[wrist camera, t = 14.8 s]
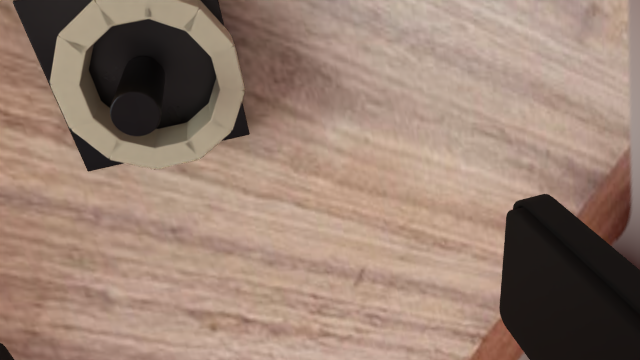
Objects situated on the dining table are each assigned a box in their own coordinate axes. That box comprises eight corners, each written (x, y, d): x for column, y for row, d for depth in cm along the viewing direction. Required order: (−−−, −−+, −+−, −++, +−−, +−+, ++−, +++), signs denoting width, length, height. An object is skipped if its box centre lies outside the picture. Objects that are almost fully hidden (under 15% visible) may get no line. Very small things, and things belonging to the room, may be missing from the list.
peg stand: (208, -38, 24) (216, -20, 19) (247, 126, 29) (262, 180, 23) (19, -3, 23) (-34, 27, 18) (91, 162, 28) (67, 228, 22)
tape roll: (215, -31, 24) (218, -25, 21) (253, 127, 28) (258, 146, 26) (33, 3, 22) (17, 13, 20) (101, 162, 27) (94, 184, 25)
